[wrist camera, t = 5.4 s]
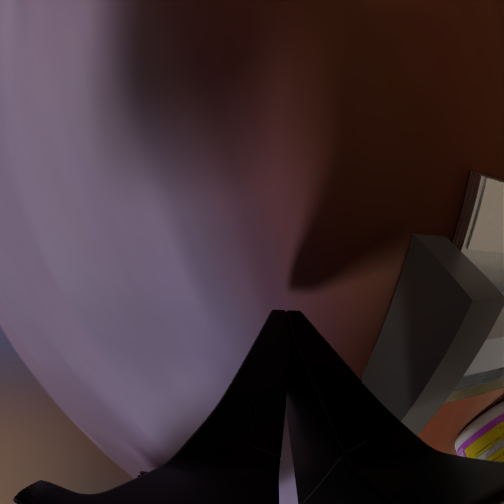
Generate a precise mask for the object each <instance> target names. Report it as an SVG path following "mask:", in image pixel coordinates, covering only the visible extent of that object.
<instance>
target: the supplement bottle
mask: <svg viewBox="0 0 504 504" xmlns="http://www.w3.org/2000/svg"><path fill="white" fill-rule="evenodd" d="M455 449H456V452H457V455H458V456H463V457H469V458H475V459H482V460H489V461H497V462H504V401H503V402H501V403H499V404H497V405H496V406H494V407H492V408H491V409H489V410H488V411H487V412H485V413H484V414H482V415H481V416H479V417H478V418H477V419H475V420H474V421H473V422H472V423H471V424H469V425H468V426H467V427H466V428H465V429H464V430H463V431H462V432H461V433H460V435H459V436H458V438H457V439H456V442H455Z"/></svg>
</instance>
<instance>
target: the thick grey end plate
mask: <svg viewBox="0 0 504 504" xmlns="http://www.w3.org/2000/svg"><path fill="white" fill-rule="evenodd" d="M501 367H504V295H503V294H502V293H501V292H500V291H499V290H498V289H497V288H496V286H495V285H494V284H493V283H492V282H491V281H490V280H489V279H488V278H487V277H486V276H485V275H484V274H483V273H482V272H481V271H480V270H479V269H478V268H477V267H476V266H475V265H474V264H473V263H472V262H471V261H470V260H469V259H468V258H467V257H466V256H465V255H464V254H463V253H462V252H461V251H460V250H459V249H458V248H457V247H456V246H455V245H454V244H453V243H452V242H451V241H450V240H448V239H447V238H446V237H445V236H436V235H426V234H416V233H413V235H412V238H411V242H410V246H409V249H408V253H407V256H406V260H405V263H404V266H403V269H402V273H401V276H400V279H399V282H398V285H397V288H396V291H395V294H394V297H393V300H392V303H391V305H390V308H389V311H388V314H387V316H386V319H385V322H384V324H383V327H382V330H381V332H380V335H379V337H378V340H377V342H376V345H375V347H374V349H373V352H372V354H371V357H370V359H369V361H368V363H367V366H366V368H365V370H364V372H363V375H362V377H361V380H362V383H363V384H364V385H365V386H366V387H367V388H368V389H369V390H370V391H371V392H372V394H373V395H374V396H375V397H376V398H377V399H378V400H379V401H380V402H381V403H382V404H383V405H384V406H385V407H386V408H387V409H388V410H389V411H390V412H391V413H392V414H393V415H394V416H395V417H396V418H398V419H399V420H400V421H401V422H402V423H403V424H404V425H405V426H406V427H408V428H409V429H410V430H411V431H412V432H413V433H414V434H415V435H418V434H419V433H420V432H421V431H422V429H423V428H424V427H425V426H426V425H427V424H428V422H429V421H430V420H431V419H432V417H433V416H434V415H435V414H436V412H437V411H438V410H439V409H440V407H441V406H442V405H443V403H444V402H445V401H446V400H447V398H448V397H449V396H450V394H451V393H452V391H453V390H454V389H455V387H456V386H457V384H458V383H459V382H460V380H461V379H462V377H463V376H466V375H471V374H476V373H480V372H485V371H489V370H493V369H497V368H501Z"/></svg>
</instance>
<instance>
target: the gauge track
mask: <svg viewBox="0 0 504 504" xmlns="http://www.w3.org/2000/svg"><path fill="white" fill-rule="evenodd" d="M452 243H453V244H454V245H455V246H456V247H457V248H458V249H459V250H460V251H461V252H462V253H463V254H464V255H465V256H466V257H467V258H468V259H469V260H470V261H471V262H472V263H473V264H474V265H475V266H476V267H477V268H478V269H479V270H480V271H481V272H482V273H483V274H484V275H485V276H486V277H487V278H488V279H489V280H490V281H491V282H492V283H493V284H494V285H495V286H496V288H497V289H498V290H499V291H500V292H501V293H502V294H503V295H504V180H501V179H498V178H495V177H492V176H488V175H485V174H481V173H478V172H474V171H471V172H470V176H469V181H468V186H467V190H466V194H465V199H464V203H463V207H462V211H461V214H460V218H459V222H458V225H457V229H456V232H455V235H454V239H453V242H452ZM503 387H504V367H501V368H497V369H493V370H489V371H485V372H480V373H476V374H471V375H466V376H463V377H462V379H461V380H460V382H459V383H458V384H457V386H456V387H455V389H454V390H453V391H452V393H451V394H450V396H449V397H448V398H447V400H446V401H445V402H444V403H447V402H451V401H456V400H460V399H464V398H468V397H472V396H476V395H480V394H483V393H487V392H490V391H494V390H497V389H500V388H503Z"/></svg>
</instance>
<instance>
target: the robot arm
mask: <svg viewBox="0 0 504 504" xmlns="http://www.w3.org/2000/svg"><path fill="white" fill-rule="evenodd" d="M285 409H286V411H287V418H288V426H289V433H290V441H291V449H292V456H293V464H294V472H295V480H296V488H297V496H298V504H504V462H497V461H489V460H482V459H475V458H469V457H463V456H457V455H452V454H447V453H443V452H440V451H437V450H435V449H433V448H432V447H430V446H429V445H427V444H426V443H425V442H423V441H422V440H421V439H420V438H419V437H418V436H417V435H415V434H414V433H413V432H412V431H411V430H410V429H409V428H408V427H406V426H405V425H404V424H403V423H402V422H401V421H400V420H399V419H398V418H396V417H395V416H394V415H393V414H392V413H391V412H390V411H389V410H388V409H387V408H386V407H385V406H384V405H383V404H382V403H381V402H380V401H379V400H378V399H377V398H376V397H375V396H374V395H373V394H372V392H371V391H370V390H369V389H368V388H367V387H366V386H365V385H364V384H362V381H361V380H360V379H359V378H358V377H357V375H356V374H355V373H354V372H353V371H352V370H351V369H350V367H349V366H348V365H347V364H346V363H345V362H344V361H343V359H342V358H341V357H340V356H339V355H338V354H337V353H336V351H335V350H334V349H333V348H332V347H331V346H330V344H329V343H328V342H327V341H326V340H325V339H324V338H323V336H322V335H321V334H320V333H319V332H318V331H317V330H316V328H315V327H314V326H313V325H312V324H311V323H310V321H309V320H308V319H307V318H306V317H305V316H304V315H303V313H302V312H300V311H291V310H288V311H287V312H286V311H285V310H272V311H271V313H270V315H269V316H268V318H267V320H266V322H265V324H264V326H263V327H262V329H261V331H260V333H259V335H258V336H257V338H256V340H255V342H254V344H253V345H252V347H251V349H250V351H249V353H248V354H247V356H246V358H245V360H244V361H243V363H242V365H241V367H240V368H239V370H238V372H237V374H236V375H235V377H234V379H233V381H232V383H231V384H230V385H229V387H228V389H227V391H226V392H225V394H224V395H223V397H222V398H221V400H220V401H219V403H218V405H217V406H216V407H215V409H214V410H213V411H212V412H211V414H210V415H209V416H208V418H207V419H206V420H205V421H204V422H203V424H202V425H201V426H200V427H199V428H198V429H197V430H196V432H195V433H194V434H193V435H192V436H191V437H190V438H189V440H188V441H187V442H186V443H185V444H184V445H183V446H182V447H181V449H180V450H179V451H178V452H177V453H176V454H175V455H174V456H173V457H172V458H171V459H169V460H168V461H167V462H166V463H164V464H163V465H161V466H160V467H158V468H156V469H154V470H152V471H150V472H148V473H146V474H144V475H138V477H137V478H135V479H133V480H131V481H129V482H126V483H124V484H122V485H120V486H117V487H115V488H113V489H110V490H108V491H105V492H102V493H97V494H80V493H76V492H73V491H70V490H68V489H65V488H63V487H60V486H57V485H55V484H53V483H50V482H47V481H43V480H40V481H37V482H35V483H33V484H31V485H29V486H27V487H26V488H24V489H22V491H20V492H19V493H18V494H17V495H16V496H15V497H14V499H13V501H14V502H15V503H17V504H279V467H280V457H281V449H282V439H283V430H284V419H285Z"/></svg>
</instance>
